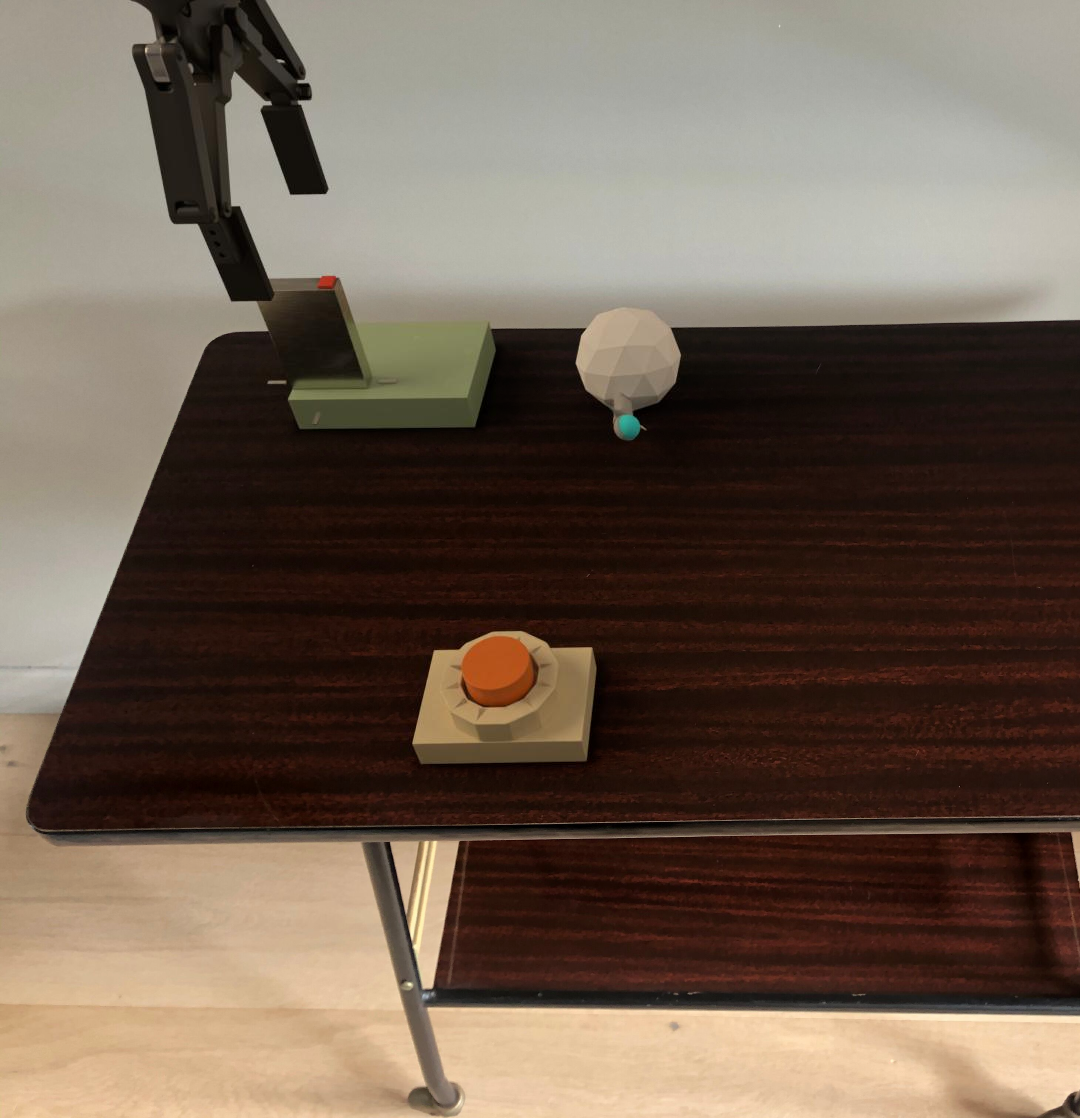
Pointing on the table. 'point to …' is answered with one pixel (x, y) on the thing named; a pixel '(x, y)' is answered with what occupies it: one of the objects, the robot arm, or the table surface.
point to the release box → (509, 710)
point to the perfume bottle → (628, 363)
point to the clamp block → (407, 379)
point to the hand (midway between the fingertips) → (283, 242)
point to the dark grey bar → (315, 334)
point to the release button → (498, 671)
